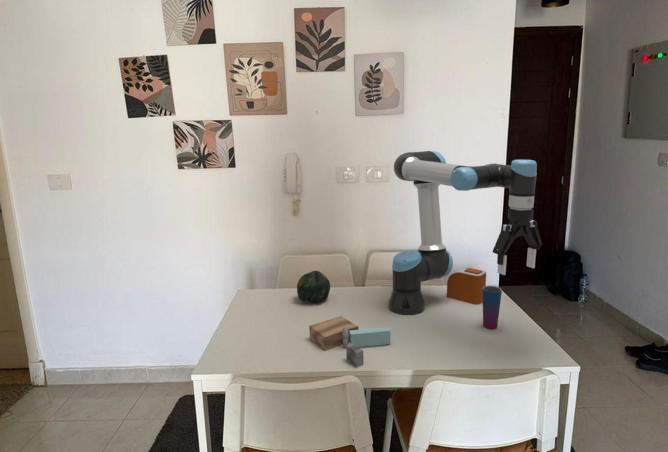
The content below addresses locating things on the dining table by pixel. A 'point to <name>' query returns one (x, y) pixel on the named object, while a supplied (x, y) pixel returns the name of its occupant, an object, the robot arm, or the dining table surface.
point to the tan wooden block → (337, 337)
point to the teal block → (370, 337)
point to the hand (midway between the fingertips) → (516, 270)
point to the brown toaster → (467, 285)
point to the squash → (313, 287)
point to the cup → (491, 306)
